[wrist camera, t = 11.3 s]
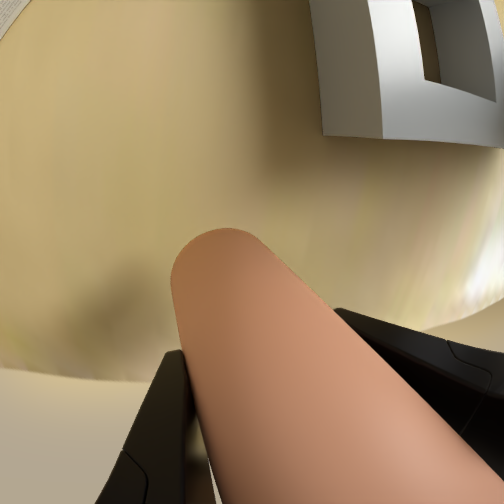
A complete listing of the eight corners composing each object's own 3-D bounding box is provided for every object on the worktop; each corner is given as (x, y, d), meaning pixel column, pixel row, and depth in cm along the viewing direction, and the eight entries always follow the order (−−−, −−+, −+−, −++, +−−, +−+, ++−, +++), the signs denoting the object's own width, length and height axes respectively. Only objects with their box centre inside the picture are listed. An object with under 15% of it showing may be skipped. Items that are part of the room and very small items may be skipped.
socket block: (443, -10, 14) (487, -20, 9) (464, 140, 19) (513, 150, 15) (296, -65, 10) (337, -103, 6) (322, 135, 16) (383, 139, 11)
